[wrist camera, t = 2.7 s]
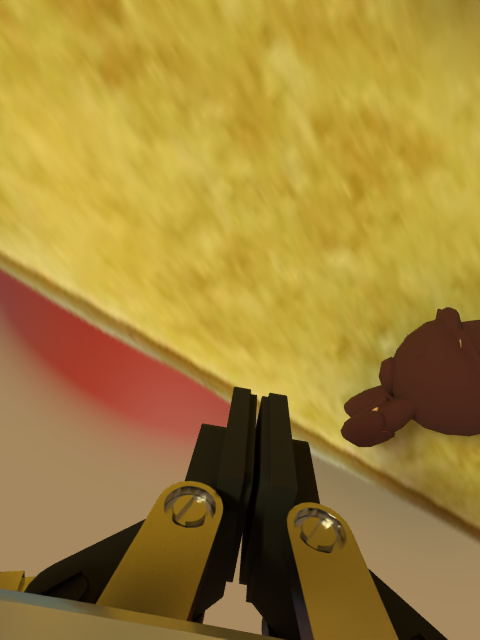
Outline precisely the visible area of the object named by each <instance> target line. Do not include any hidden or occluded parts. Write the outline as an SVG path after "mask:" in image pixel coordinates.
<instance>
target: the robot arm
mask: <svg viewBox="0 0 480 640" xmlns="http://www.w3.org/2000/svg"><path fill="white" fill-rule="evenodd" d="M256 407H257V395H253V394H251V389H245V388H239V387H234V391H233V396H232V402H231V407H230V413H229V419H228V424H227V428H226V427H220V426H214V425H209V424H202V426H201V429H200V433H199V435H198V439H197V442H196V445H195V449H194V452H193V455H192V459H191V462H190V465H189V469H188V472H187V475H186V479H185V481H184V482H179V483H176V484H173V485H171V486H170V487H168V488H167V489H165V490H164V491H163V492H162V494H161V495H160V496H159V498H158V499H157V501H156V503H155V504H154V506H153V508H152V510H151V512H150V513H149V515H148V516H147V518H146V519H145V520H143V521H141V522H139V523H137V524H135V525H132V526H130V527H129V528H126V529H124V530H122V531H120V532H118V533H116V534H114V535H112V536H110V537H108V538H106V539H104V540H102V541H100V542H98V543H96V544H94V545H92V546H90V547H88V548H86V549H84V550H82V551H80V552H78V553H76V554H74V555H71V556H69V557H68V558H65V559H63V560H61V561H59V562H57V563H55V564H53V565H52V566H50V567H48V568H47V569H45V570H44V571H42V572H41V573H40V574H38V575H37V576H36V577H25V571H10V572H9V571H8V572H0V640H447V639H446V638H445V637H444V636H443V635H442V634H441V633H440V632H439V631H438V630H437V629H435V628H434V627H433V626H432V625H431V624H430V623H429V622H428V621H426V620H425V619H424V618H423V617H422V616H421V615H420V614H419V613H418V612H416V611H415V610H414V609H413V608H412V607H411V606H409V604H407V603H406V602H405V601H404V600H403V599H402V598H401V597H400V596H399V595H397V594H396V593H395V592H394V591H393V590H392V589H391V588H389V587H388V586H387V585H386V584H385V583H384V582H383V581H382V580H380V579H379V578H378V577H377V576H376V575H375V574H374V573H373V572H372V571H371V570H369V569H368V568H367V565H366V563H365V561H364V558H363V556H362V554H361V551H360V549H359V547H358V544H357V542H356V540H355V537H354V535H353V533H352V531H351V529H350V527H349V525H348V524H347V522H346V521H345V520H344V519H343V518H342V517H341V516H340V515H339V514H338V513H336V512H335V511H333V510H332V509H331V508H328V507H326V506H324V505H321V504H320V501H319V496H318V490H317V485H316V480H315V474H314V469H313V464H312V458H311V453H310V447H309V444H308V442H305V441H300V440H294V439H292V435H291V426H290V417H289V409H288V400H287V396H286V395H280V394H274V393H269V396H268V397H265V396H262V399H261V404H260V409H259V414H258V419H257V424H256ZM255 428H256V429H255ZM242 533H243V535H242ZM241 538H242V549H241V563H240V576H239V577H240V578H239V584H244V585H247V595H246V602H250V603H252V604H253V605H254V606H255V607H256V609H257V610H258V611H259V613H260V614H261V615H262V617H263V618H262V629H261V630H262V635H259V634H253V633H248V632H243V631H237V630H232V629H227V628H221V627H216V626H210V625H205V624H203V620H204V615H205V610H206V609H208V608H209V607H210V606H211V605H213V604H214V603H216V602H217V601H218V600H219V599H221V598H222V597H223V595H224V590H225V585H226V581H227V582H233V578H234V573H235V568H236V563H237V558H238V553H239V548H240V542H241Z"/></svg>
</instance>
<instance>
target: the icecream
mask: <svg viewBox="0 0 480 640" xmlns="http://www.w3.org/2000/svg"><path fill="white" fill-rule="evenodd" d="M379 379H380V382H381V385H380V386H377V387H374V388H371V389H368V390H365V391H363V392H361V393H359V394H358V395H356V396H354V397H352V398H351V399H350V400H348V401H347V402H346V403H345V405H344V409H345V412H346V413H347V414H348V415H349V416H350V417H351V418H349V419H348V420H347V421H346V422H345V423H344V425H343V427H342V429H341V433H342V436H343V437H344V438H345V439H346V440H348V441H349V442H351V443H353V444H355V445H356V446H358V447H372V446H374V445H377V444H380V443H382V442H385V441H387V440H389V439H391V438H392V437H394V435H395V433H394V432H395V431H397V430H399V429H401V428H402V427H404V426H405V425H406V424H407V423H408V422H409V421H410V420H411V419H413V420H414V421H416V422H417V423H418V424H420V425H421V426H423V427H424V428H427V429H430V430H434V431H437V432H440V433H443V434H447V435H461V436H472V435H477V434H480V320H474V321H466V322H461V320H460V316H459V314H458V312H457V311H456V310H455V309H453V308H447V307H446V308H444V309H443V310H441V309H438V310H437V315H436V320H433V321H429V322H426V323H424V324H423V325H422V326H420V327H419V328H418V329H416V330H415V331H414V332H412V333H411V334H409V335H408V336H407V337H406V338H405V340H404V342H403V343H402V344H401V345H400V347H399V348H398V349H397V351H396V353H395V356H394V358H392V357H390V358H388V359H386V360H384V361H382V363H381V368H380V373H379Z"/></svg>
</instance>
